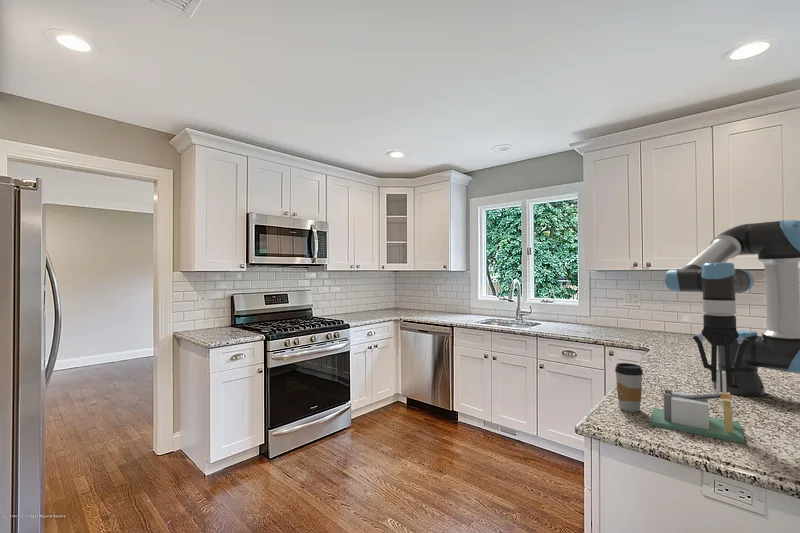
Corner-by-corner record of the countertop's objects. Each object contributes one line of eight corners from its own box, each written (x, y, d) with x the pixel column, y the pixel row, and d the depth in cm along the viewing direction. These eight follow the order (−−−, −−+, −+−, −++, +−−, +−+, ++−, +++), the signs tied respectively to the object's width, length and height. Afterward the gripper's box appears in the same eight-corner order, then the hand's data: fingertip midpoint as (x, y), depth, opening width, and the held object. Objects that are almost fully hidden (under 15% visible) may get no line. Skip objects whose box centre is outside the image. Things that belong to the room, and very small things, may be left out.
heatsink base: (649, 424, 118) (648, 395, 118) (653, 411, 129) (652, 384, 129) (744, 443, 105) (743, 410, 105) (739, 426, 116) (739, 396, 116)
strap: (666, 402, 120) (665, 399, 120) (666, 398, 123) (665, 395, 123) (731, 399, 110) (730, 395, 110) (730, 395, 113) (729, 391, 114)
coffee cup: (610, 405, 136) (609, 363, 136) (632, 404, 136) (631, 362, 136) (626, 414, 127) (625, 369, 127) (649, 412, 128) (648, 368, 128)
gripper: (748, 314, 112) (751, 394, 112) (690, 311, 120) (692, 386, 120) (751, 316, 106) (754, 401, 106) (690, 314, 114) (692, 392, 114)
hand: (721, 393), depth 113 cm, fingers closed
